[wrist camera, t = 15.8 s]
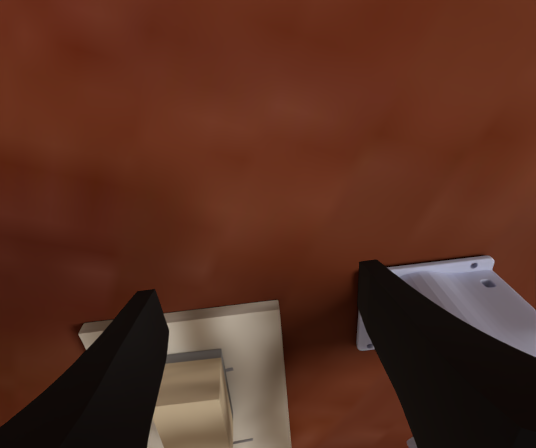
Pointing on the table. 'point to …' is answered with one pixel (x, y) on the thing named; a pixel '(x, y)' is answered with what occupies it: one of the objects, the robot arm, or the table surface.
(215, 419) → the block
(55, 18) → the table surface
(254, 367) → the birch board
